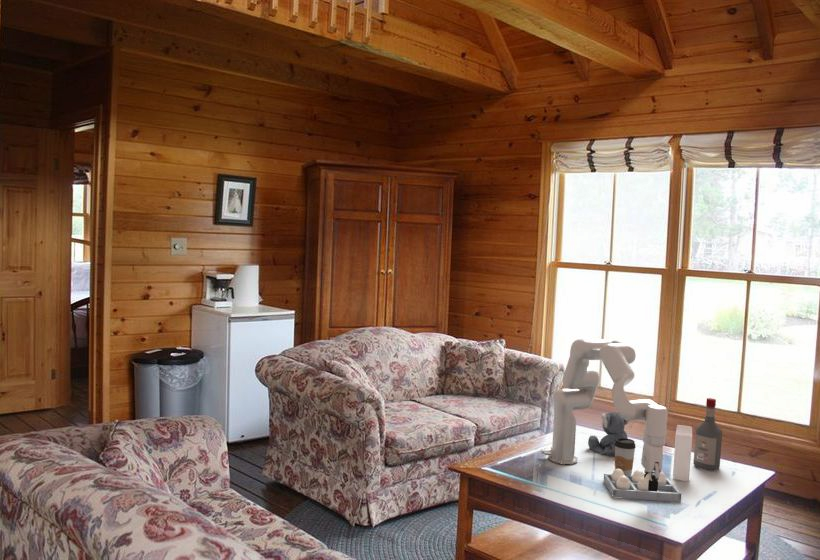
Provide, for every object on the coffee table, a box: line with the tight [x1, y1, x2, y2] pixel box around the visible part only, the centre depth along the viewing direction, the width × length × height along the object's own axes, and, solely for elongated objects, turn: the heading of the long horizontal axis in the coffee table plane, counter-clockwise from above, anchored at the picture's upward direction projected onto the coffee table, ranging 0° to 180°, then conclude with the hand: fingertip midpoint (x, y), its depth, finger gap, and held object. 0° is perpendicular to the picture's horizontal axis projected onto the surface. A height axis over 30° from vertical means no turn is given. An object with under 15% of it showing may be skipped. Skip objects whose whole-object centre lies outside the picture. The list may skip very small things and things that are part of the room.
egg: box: [643, 473, 654, 489], centre depth 253 cm, size 5×5×6 cm
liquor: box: [693, 397, 723, 472], centre depth 300 cm, size 9×9×30 cm
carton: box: [603, 468, 683, 502], centre depth 269 cm, size 25×17×7 cm
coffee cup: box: [614, 438, 636, 476], centre depth 285 cm, size 8×8×15 cm
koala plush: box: [587, 411, 630, 457], centre depth 315 cm, size 17×18×20 cm
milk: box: [672, 424, 693, 482], centre depth 285 cm, size 6×6×22 cm
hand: (650, 487), depth 253 cm, fingers closed on egg, 5 cm apart
